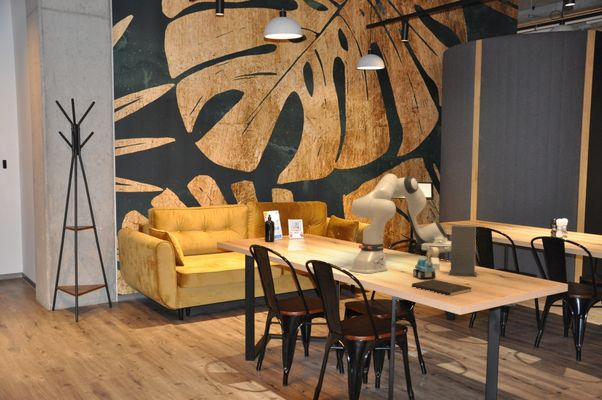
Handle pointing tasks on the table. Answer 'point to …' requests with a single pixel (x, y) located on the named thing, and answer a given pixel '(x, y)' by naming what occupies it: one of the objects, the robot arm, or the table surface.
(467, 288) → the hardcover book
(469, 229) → the stand
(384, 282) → the table surface
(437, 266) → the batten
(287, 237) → the table surface
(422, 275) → the toy excavator
